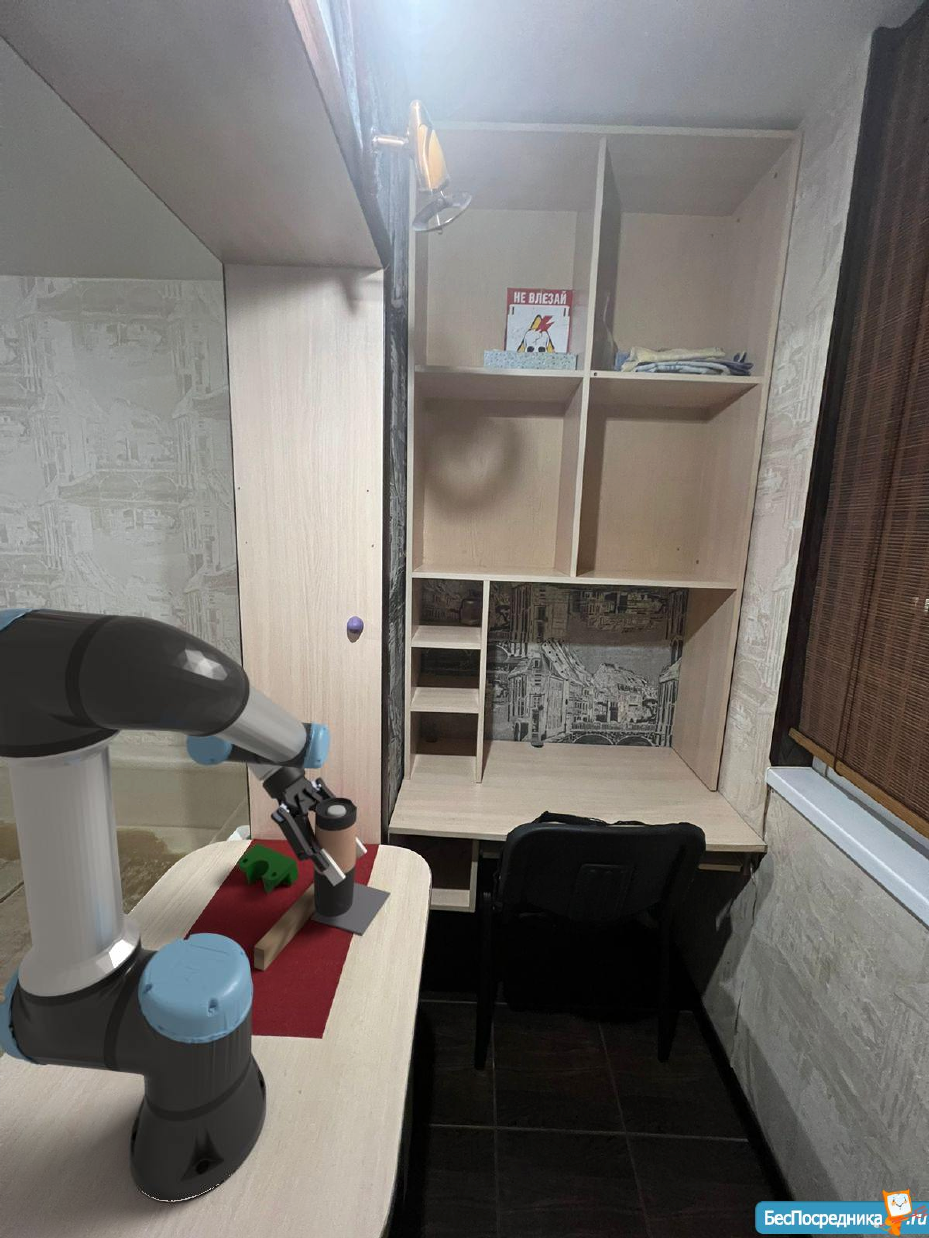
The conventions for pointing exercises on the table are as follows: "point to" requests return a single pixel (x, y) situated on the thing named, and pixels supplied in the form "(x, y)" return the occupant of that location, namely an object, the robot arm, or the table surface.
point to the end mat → (357, 910)
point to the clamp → (268, 867)
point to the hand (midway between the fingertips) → (351, 867)
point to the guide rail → (284, 930)
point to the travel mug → (335, 854)
